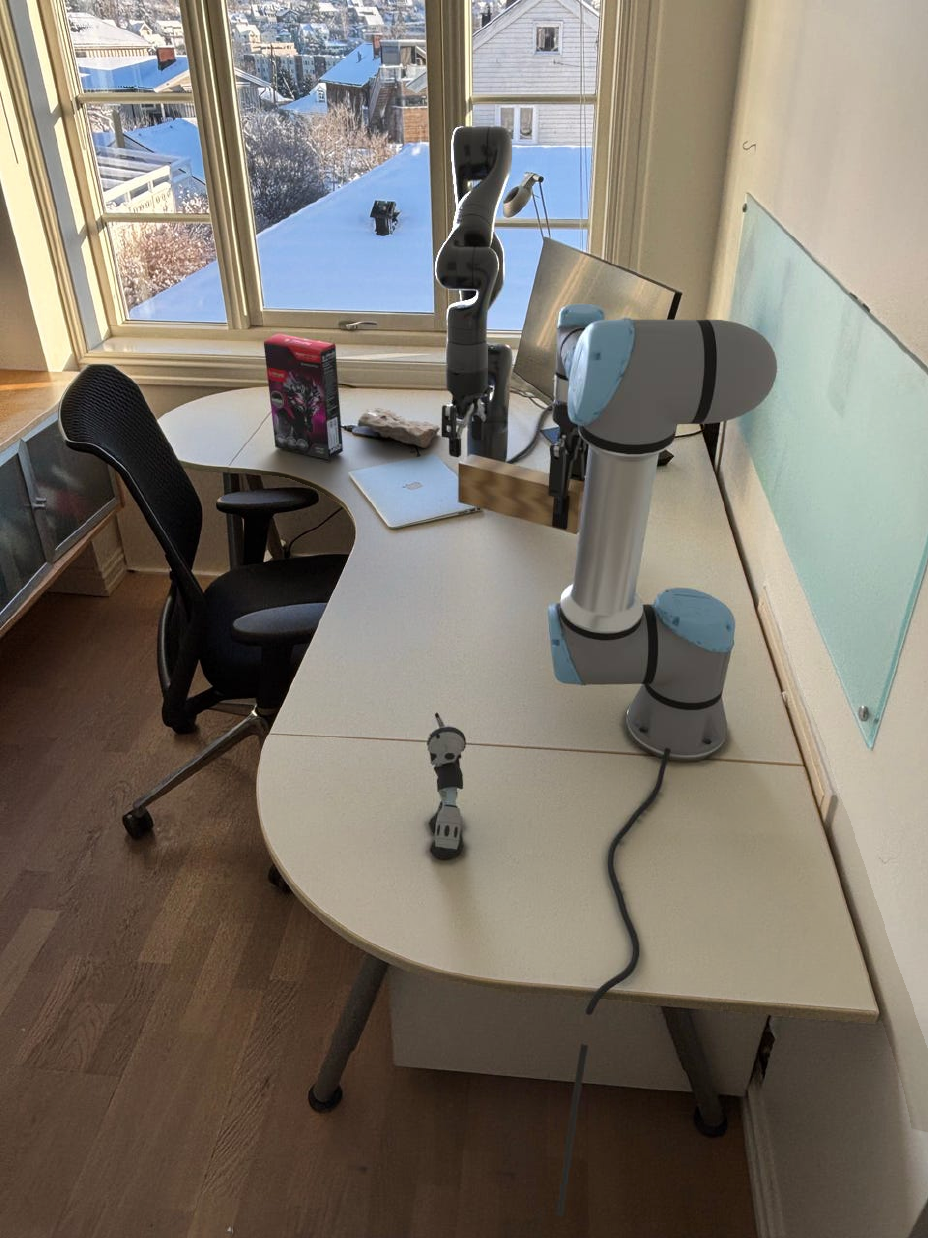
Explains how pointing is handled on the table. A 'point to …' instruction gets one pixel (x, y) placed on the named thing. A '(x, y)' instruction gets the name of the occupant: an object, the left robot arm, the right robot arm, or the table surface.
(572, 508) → the bar
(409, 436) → the stone
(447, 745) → the robot
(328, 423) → the graphics card box
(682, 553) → the table surface
